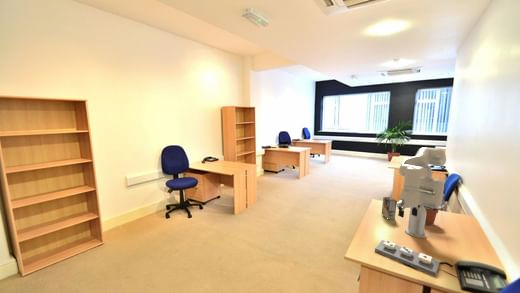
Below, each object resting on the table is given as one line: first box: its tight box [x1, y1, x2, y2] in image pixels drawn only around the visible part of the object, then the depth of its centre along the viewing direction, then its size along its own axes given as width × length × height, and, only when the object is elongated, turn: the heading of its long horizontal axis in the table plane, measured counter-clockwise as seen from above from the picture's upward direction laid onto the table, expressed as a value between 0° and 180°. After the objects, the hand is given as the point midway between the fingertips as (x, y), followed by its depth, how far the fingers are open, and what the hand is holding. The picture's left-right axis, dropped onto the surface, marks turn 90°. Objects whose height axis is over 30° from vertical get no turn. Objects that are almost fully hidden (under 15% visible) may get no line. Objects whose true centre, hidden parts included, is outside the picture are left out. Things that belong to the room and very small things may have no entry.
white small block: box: [400, 245, 414, 257], centre depth 132 cm, size 6×6×4 cm
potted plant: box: [419, 189, 440, 226], centre depth 176 cm, size 16×15×35 cm
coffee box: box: [381, 196, 398, 220], centre depth 185 cm, size 9×6×16 cm
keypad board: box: [374, 239, 441, 277], centre depth 132 cm, size 14×30×2 cm, turn 45°
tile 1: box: [418, 252, 433, 264], centre depth 126 cm, size 6×6×4 cm
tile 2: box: [383, 239, 397, 250], centre depth 138 cm, size 6×6×4 cm
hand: (407, 216), depth 133 cm, fingers open, 9 cm apart
